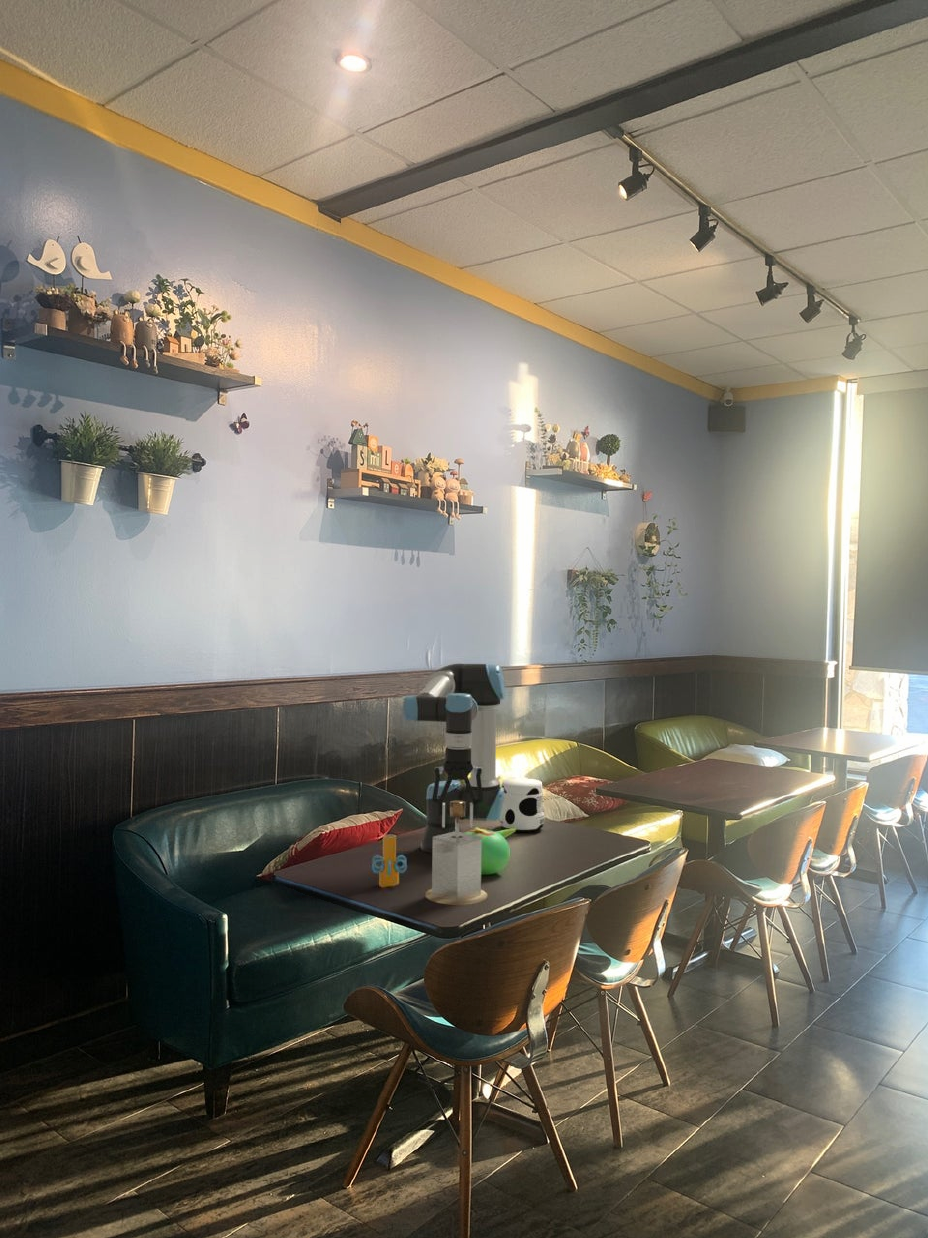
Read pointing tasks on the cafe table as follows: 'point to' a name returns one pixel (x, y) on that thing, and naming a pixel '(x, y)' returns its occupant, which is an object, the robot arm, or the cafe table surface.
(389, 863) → the cylinder
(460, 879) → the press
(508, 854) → the toy bird
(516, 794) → the milk container
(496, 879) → the cafe table surface
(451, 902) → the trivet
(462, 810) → the plunger
